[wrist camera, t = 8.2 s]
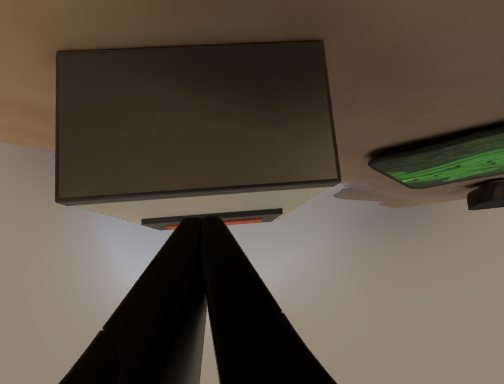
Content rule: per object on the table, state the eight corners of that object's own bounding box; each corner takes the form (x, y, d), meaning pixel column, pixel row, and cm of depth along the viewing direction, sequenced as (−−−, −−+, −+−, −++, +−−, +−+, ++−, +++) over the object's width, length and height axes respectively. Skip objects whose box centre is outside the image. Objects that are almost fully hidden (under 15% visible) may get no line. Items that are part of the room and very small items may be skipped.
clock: (53, 214, 11) (154, 235, 25) (343, 192, 11) (280, 225, 26) (55, 50, 11) (151, 161, 26) (324, 40, 12) (273, 153, 26)
